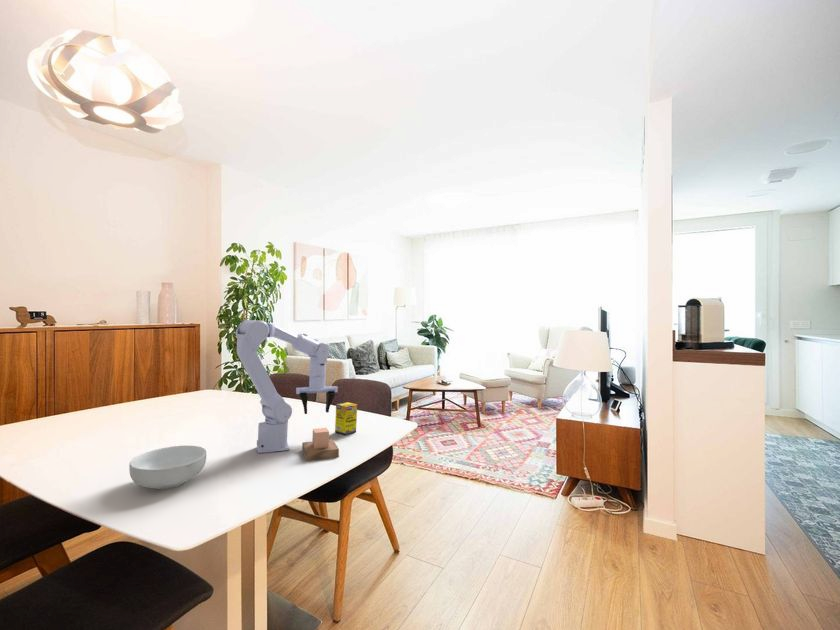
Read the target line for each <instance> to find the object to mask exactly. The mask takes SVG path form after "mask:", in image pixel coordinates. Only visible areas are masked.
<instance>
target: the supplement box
mask: <svg viewBox="0 0 840 630" xmlns="http://www.w3.org/2000/svg"><path fill="white" fill-rule="evenodd" d="M357 413H358V404H357V403H352V402H347V401H346V402H343V403H337V404H336V405H335V423H334V427H335V428H334V433H336V434H339V433H340V434H339V435H342V434H343V436H347V435H351V434H353V433H357V417H358V414H357Z"/></svg>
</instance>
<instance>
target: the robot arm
mask: <svg viewBox="0 0 840 630" xmlns="http://www.w3.org/2000/svg"><path fill="white" fill-rule="evenodd" d="M235 336H236V356H237V357H238V359H239V360H240V362H241V364H242V366H243V368H244V370H245V372H246V373H247V375H248V377H249V378H250V381H251V382H252V384H253V386H254V388H255V391H256V392H257V393H258V395H259V398H260V401H259V403H260V405H261V412H262V413H261V414H262V415H263V416H264V421H263V422H259V423H258V425H257V426H258V429H257V439H256V446H257V453H258V454H262V453H263V454H264V453H272V452H273V453H274V452H280V451H289V450H290V447H289V443H288V431H289V430H288V429H289V428H288V427H289V426H288V425H289V419H290V418H291V416H292V415H293V408H292V405H290V404H289V403H287V402H286V401H285V399H284V398H283V397H282V396H281V395H280V394H279V393H278V392H277V389H276V387H275V385H274V383H273V381H272V380H271V378H270V376H269V373H268V372H267V370H266V368H265V366H264V365H263V362H262V360H261V359H260V356H259V355H258V353H257V352H258V350H259V348H260V346H261V344H262V343H264V341H266V339H267V338H275V339H278V340H280V341H283V342H286V343H288V344H291V346H292V349H293V350H296V351H298V352H300V353H303V354H305V355H307V356H308V357H309V362H310V363H309V383H308V385H309V386H304V387H296V390H295V391H296V392H295V393H296V395H298V396H299V397H300V400H301V402H302V405H303V413H304V415H308V397H309V396H308V394H317V393H318V394H319V393H321V394H323V393H325V400H326V402H325V412H326V413H329V412H330V407H331V404H332V402H333V400H334V399H335V395H336V393H339V392H338V389H339V387H338V386H337V385H336V386H335V385H334V386H333V385H331V386H330V385H326V381H327V380H326V379H327V375H326V374H327V362H328V357H329V356H330V354H331V350H330V349H329V346H328V345H327V344H326V343H325V342H319V340H318V339H317V338H316V339H315V338H314V339H313V338H311V337H309V336H308V334H307V333H299V334H296V335H295V334H294V333H292V332H289V331H287V330H286V329H284V328H282V327H280V326H278V325H276V324H273V323H272V322H271V323H270V322H266V321H264V320H261V319H260V320H254V319H253V320H252V319H245V320H243V321H242V322H240V323H239V325H238V327H237V329H236V331H235Z"/></svg>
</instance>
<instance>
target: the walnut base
mask: <svg viewBox="0 0 840 630" xmlns="http://www.w3.org/2000/svg"><path fill="white" fill-rule="evenodd" d="M301 444H302V446H301V451H302V453H303V456H304V459H305V461H307V462H308V461H316V460H323V459H331V458H338V457H339V456H340V454H339V452H340V449H339V447H338V445H337V444H336V442H335V441H334V439H329V447H325V448H316V449H314V447H313V445H312V441H306V442H302V443H301ZM339 458H340V457H339Z"/></svg>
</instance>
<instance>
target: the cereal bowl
mask: <svg viewBox="0 0 840 630" xmlns="http://www.w3.org/2000/svg"><path fill="white" fill-rule="evenodd" d="M206 461H207V450H206V448H205V447H202V446H198V445H175V446H174V445H173V446H168V447H167V446H166V447H161V448H157V449H153V450H149V451H145V452H143V453H140V454H139V455H137V456H135V457H133V458H132V459H131V460H130V461H129V470H128V471H129V476H130V479H131V480H132V482H133V483H135V484H136V485H138V486H140V487H144V488H149V489H150V488H151V489H154V490H168V489H174V488H176V487H179V486H181V485H183V484H185V483H186V482H187V481H190V480H192V479H193V478H195V477H196V476H197V475H199V474H200V473H201V472H202V470H203V469H204V467H205V465H206Z"/></svg>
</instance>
